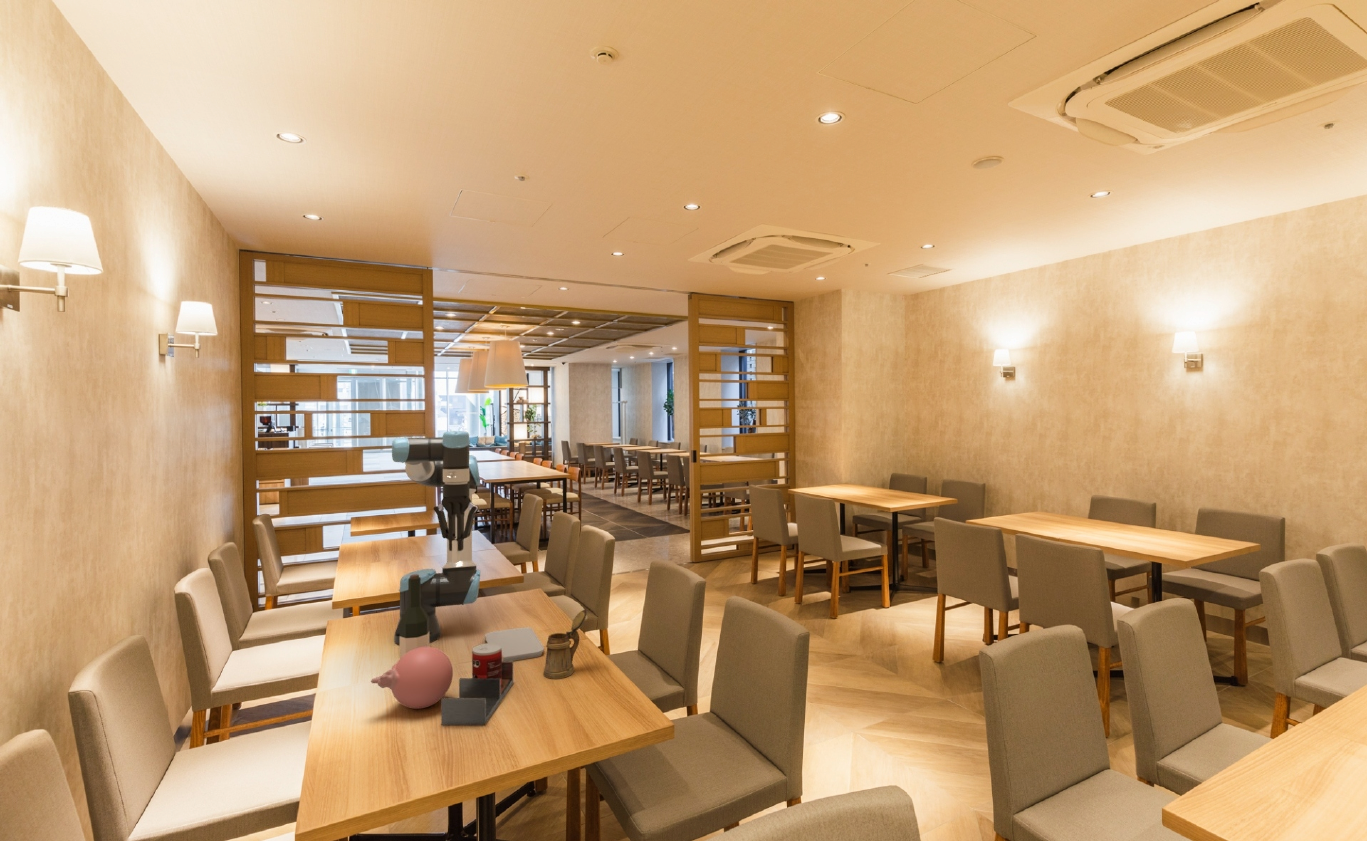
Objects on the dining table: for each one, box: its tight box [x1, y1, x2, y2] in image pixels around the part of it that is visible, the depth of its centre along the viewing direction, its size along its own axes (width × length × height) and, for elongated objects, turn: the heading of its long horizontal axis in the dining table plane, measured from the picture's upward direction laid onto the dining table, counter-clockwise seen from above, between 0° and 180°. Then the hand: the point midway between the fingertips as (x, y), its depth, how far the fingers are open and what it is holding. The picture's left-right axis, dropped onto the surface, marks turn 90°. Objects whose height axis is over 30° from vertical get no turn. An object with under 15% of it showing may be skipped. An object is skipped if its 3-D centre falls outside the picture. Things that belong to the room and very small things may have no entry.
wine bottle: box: [399, 574, 430, 659], centre depth 184 cm, size 8×8×30 cm
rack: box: [440, 655, 514, 726], centre depth 166 cm, size 25×11×8 cm, turn 179°
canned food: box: [471, 642, 502, 683], centre depth 172 cm, size 8×8×11 cm
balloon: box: [370, 646, 454, 709], centre depth 163 cm, size 15×20×15 cm
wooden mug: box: [542, 609, 588, 680], centre depth 187 cm, size 9×14×18 cm, turn 118°
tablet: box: [484, 626, 545, 662], centre depth 207 cm, size 16×26×2 cm, turn 25°
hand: (456, 561), depth 183 cm, fingers closed
